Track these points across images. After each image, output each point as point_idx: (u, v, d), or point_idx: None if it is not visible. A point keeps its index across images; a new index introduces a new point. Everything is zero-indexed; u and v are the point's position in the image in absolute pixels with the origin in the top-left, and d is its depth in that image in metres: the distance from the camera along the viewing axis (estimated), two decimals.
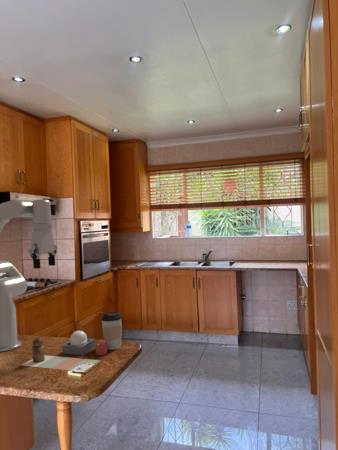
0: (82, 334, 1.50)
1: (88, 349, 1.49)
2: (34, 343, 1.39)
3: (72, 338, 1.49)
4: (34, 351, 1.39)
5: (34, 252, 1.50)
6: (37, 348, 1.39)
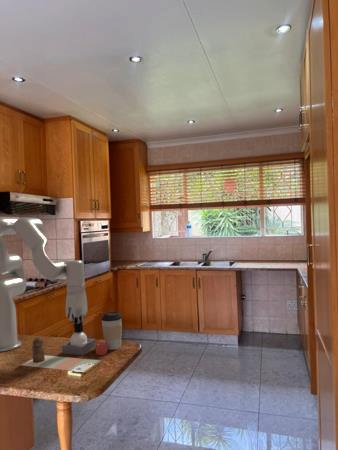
0: (82, 335, 1.50)
1: (88, 349, 1.49)
2: (34, 343, 1.39)
3: (72, 339, 1.49)
4: (34, 351, 1.39)
5: (69, 316, 1.47)
6: (37, 348, 1.39)
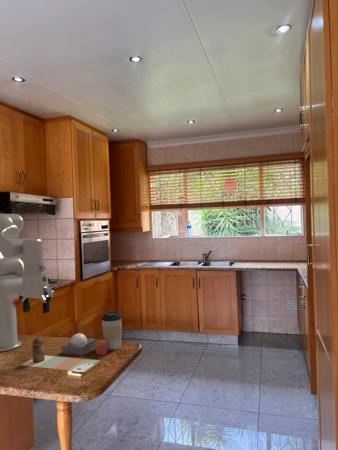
0: (82, 337, 1.50)
1: (88, 349, 1.49)
2: (34, 343, 1.39)
3: (72, 341, 1.49)
4: (34, 351, 1.39)
5: None
6: (37, 348, 1.39)
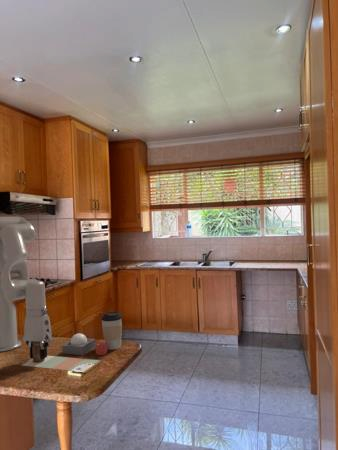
0: (82, 337, 1.50)
1: (88, 349, 1.49)
2: (34, 343, 1.39)
3: (72, 341, 1.49)
4: (34, 351, 1.39)
5: None
6: (37, 348, 1.39)
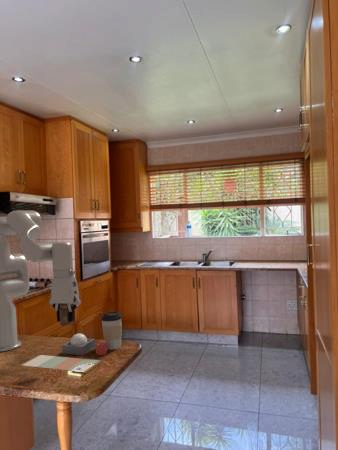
0: (82, 337, 1.50)
1: (88, 349, 1.49)
2: (61, 305, 1.35)
3: (72, 341, 1.49)
4: (61, 313, 1.34)
5: None
6: (65, 310, 1.34)
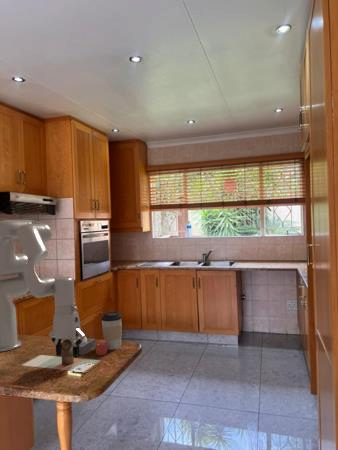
0: None
1: (88, 349, 1.49)
2: (63, 345, 1.35)
3: None
4: (63, 353, 1.35)
5: None
6: (66, 350, 1.34)
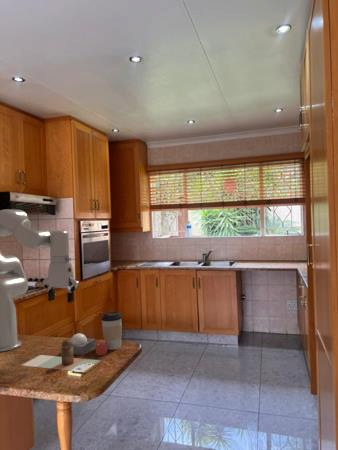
0: (82, 337, 1.50)
1: (88, 349, 1.49)
2: (63, 345, 1.35)
3: (72, 341, 1.49)
4: (63, 353, 1.35)
5: None
6: (66, 350, 1.34)
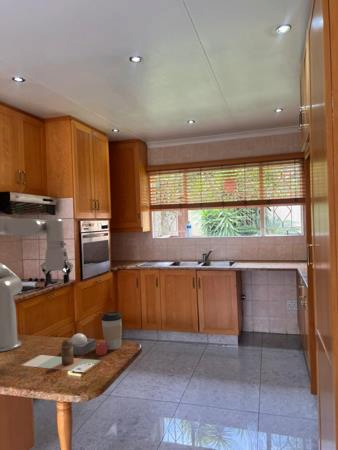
0: (82, 337, 1.50)
1: (88, 349, 1.49)
2: (63, 345, 1.35)
3: (72, 341, 1.49)
4: (63, 353, 1.35)
5: None
6: (66, 350, 1.34)
